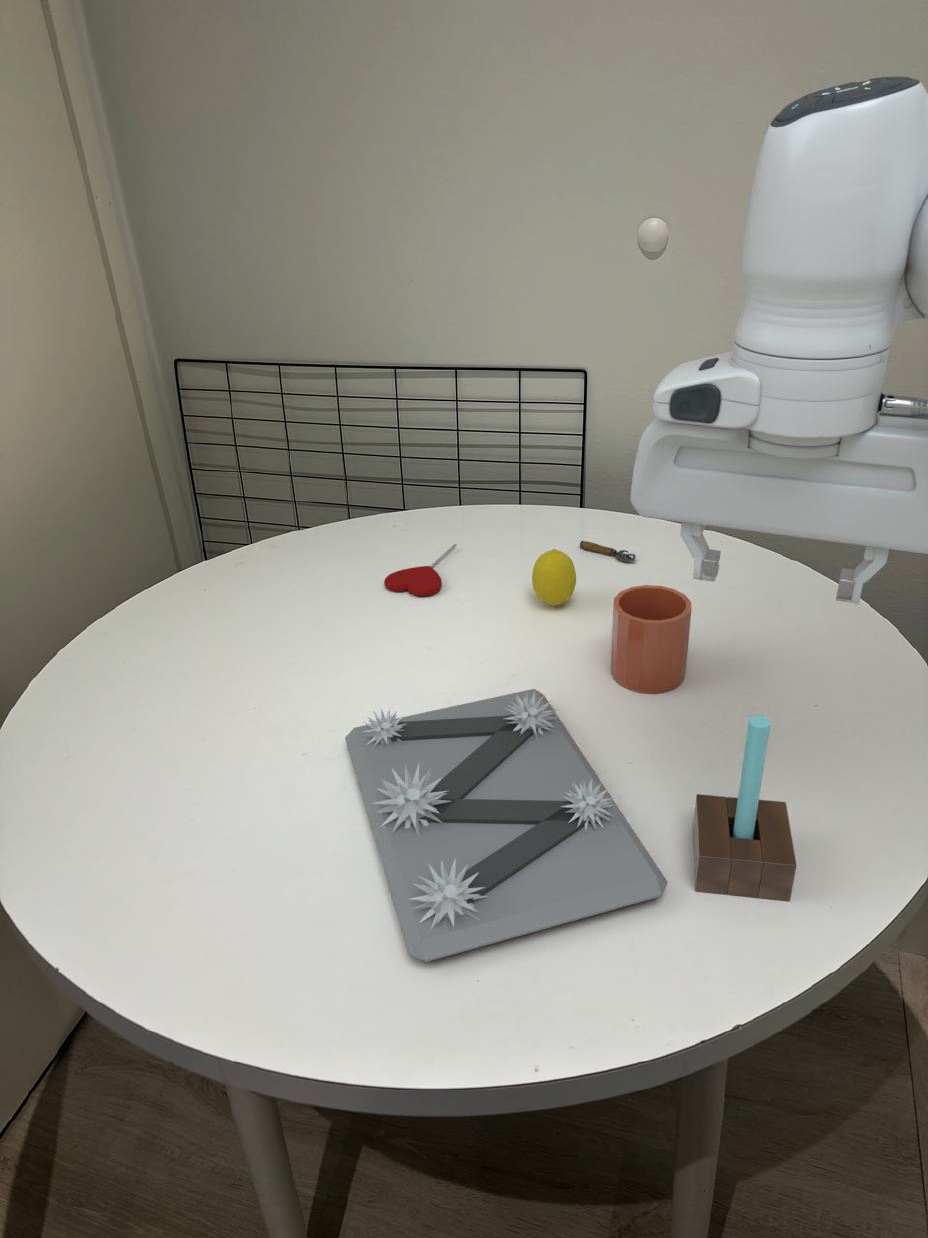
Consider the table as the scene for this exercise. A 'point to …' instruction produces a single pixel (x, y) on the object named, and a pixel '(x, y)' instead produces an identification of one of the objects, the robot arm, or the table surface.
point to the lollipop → (416, 579)
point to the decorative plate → (493, 824)
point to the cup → (650, 638)
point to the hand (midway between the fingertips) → (774, 587)
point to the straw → (751, 776)
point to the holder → (743, 850)
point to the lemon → (554, 577)
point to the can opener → (607, 551)
